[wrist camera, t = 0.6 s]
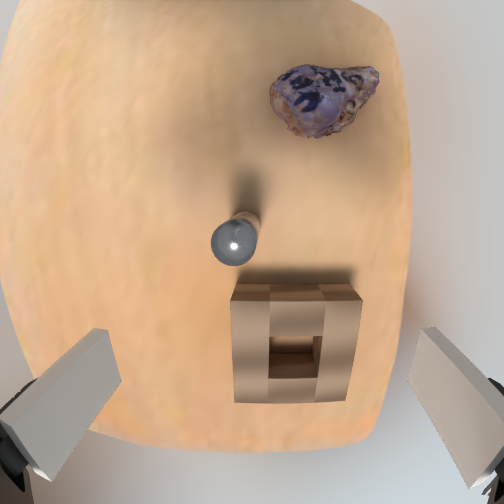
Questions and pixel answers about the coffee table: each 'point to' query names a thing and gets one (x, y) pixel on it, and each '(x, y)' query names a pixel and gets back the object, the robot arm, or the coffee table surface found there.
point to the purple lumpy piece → (321, 97)
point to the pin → (236, 239)
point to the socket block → (293, 324)
